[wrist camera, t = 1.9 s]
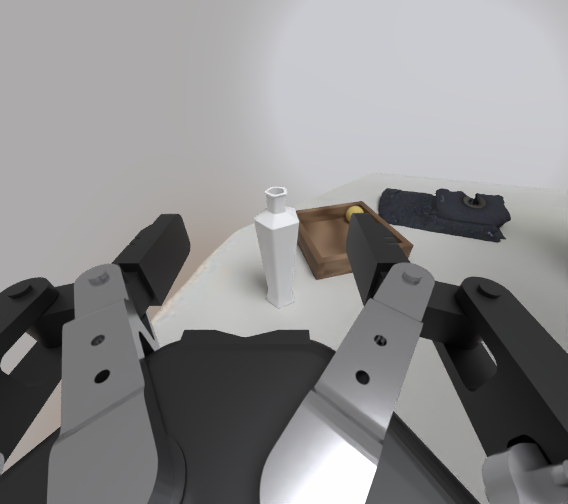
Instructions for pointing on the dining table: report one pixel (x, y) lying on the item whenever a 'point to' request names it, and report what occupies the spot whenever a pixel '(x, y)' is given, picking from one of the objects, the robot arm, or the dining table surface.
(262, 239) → the white faceted vase
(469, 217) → the dark folded fabric bundle
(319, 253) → the tray
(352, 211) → the ball
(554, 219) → the dining table surface
